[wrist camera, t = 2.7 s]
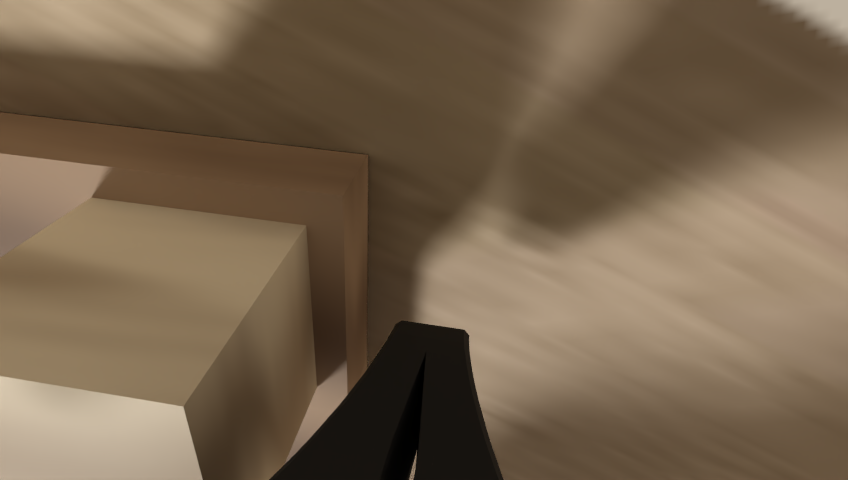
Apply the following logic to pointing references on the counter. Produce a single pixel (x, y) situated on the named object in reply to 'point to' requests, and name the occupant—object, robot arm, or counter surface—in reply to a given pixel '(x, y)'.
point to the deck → (210, 211)
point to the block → (154, 346)
